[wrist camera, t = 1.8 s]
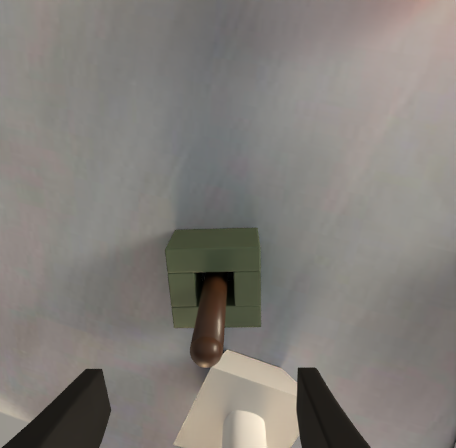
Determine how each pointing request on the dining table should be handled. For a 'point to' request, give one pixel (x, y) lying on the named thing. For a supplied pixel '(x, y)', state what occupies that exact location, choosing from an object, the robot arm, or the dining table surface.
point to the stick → (210, 321)
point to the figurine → (242, 407)
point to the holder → (215, 262)
